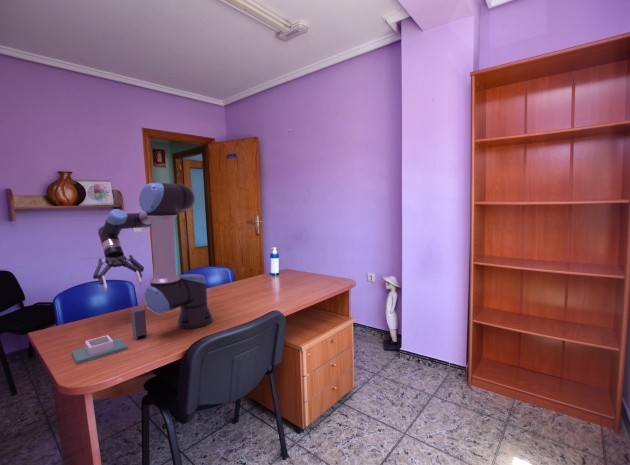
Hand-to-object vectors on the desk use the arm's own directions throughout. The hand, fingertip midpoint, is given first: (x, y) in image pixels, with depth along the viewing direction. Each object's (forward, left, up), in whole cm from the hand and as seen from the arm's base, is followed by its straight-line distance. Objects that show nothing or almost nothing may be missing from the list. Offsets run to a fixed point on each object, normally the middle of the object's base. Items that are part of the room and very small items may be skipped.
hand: (123, 286), depth 142 cm
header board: (+9, +21, -20) cm, 30 cm away
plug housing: (-5, +14, -20) cm, 25 cm away
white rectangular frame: (-16, -24, -21) cm, 36 cm away
